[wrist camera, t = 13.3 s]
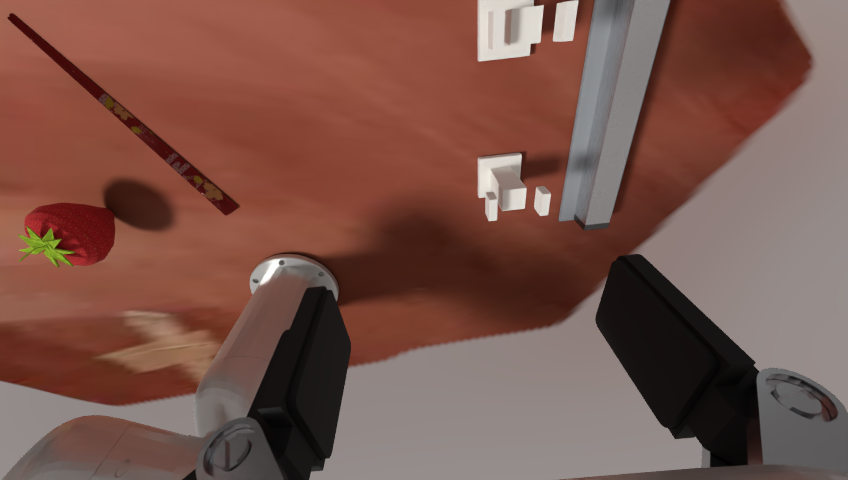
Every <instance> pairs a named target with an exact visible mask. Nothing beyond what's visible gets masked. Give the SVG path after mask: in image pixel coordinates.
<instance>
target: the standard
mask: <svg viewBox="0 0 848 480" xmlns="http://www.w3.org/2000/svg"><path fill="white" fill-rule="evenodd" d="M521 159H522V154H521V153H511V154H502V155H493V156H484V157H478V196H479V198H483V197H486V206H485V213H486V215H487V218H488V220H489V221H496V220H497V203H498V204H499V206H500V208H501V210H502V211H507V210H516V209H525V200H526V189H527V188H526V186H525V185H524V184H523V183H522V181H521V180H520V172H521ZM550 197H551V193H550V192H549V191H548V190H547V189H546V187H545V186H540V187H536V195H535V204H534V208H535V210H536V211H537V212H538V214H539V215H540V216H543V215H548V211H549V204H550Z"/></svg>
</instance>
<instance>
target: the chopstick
mask: <svg viewBox="0 0 848 480" xmlns="http://www.w3.org/2000/svg"><path fill="white" fill-rule="evenodd" d="M8 19H9V20H10V21H11V22H12V23H13V24H14V25H15V26H16V27H17V28H18V29H20V30H21V31H22V32H23V33H24V34H25V35H26V36H27V37H28V38H30V39H31V40H32V41H33V42H34V43H35V44H36V45H37V46H38V47H40V48H41V49H42V50H43V51H44V52H45V53H46V54H47V55H48V56H49V57H51V58H52V59H53V60H54V61H55V62H56V63H57V64H58V65H59V66H61V67H62V68H63V69H64V70H65V71H66V72H67V73H68V74H69V75H71V76H72V77H73V78H74V79H75V80H76V81H77V82H78V83H79V84H80V85H82V86H83V87H84V88H85V89H86V90H87V91H88V92H89V93H90V94H92V95H93V96H94V97H95V98H96V99H97V100H98V101H99V102H100V103H102V104H103V105H104V106H105V107H106V108H107V109H108V110H109V111H110V112H112V113H113V114H114V115H115V116H116V117H117V118H118V119H119V120H120V121H121V122H123V123H124V124H125V125H126V126H127V127H128V128H129V129H130V130H131V131H133V132H134V133H135V134H136V135H137V136H138V137H139V138H140V139H141V140H143V141H144V142H145V143H146V144H147V145H148V146H149V147H150V148H151V149H152V150H154V151H155V152H156V153H157V154H158V155H159V156H160V157H161V158H162V159H164V160H165V161H166V162H167V163H168V164H169V165H170V166H171V167H172V168H174V169H175V170H176V171H177V172H178V173H179V174H180V175H181V176H182V177H184V178H185V179H186V180H187V181H188V182H189V183H190V184H191V185H192V186H193V187H195V188H196V189H197V190H198V191H199V192H200V193H201V194H202V195H203V196H205V197H206V198H207V199H208V200H209V201H210V202H211V203H212V204H213V205H215V206H216V207H217V208H218V209H219V210H220V211H221V212H222V213H223V214H224V215H228V214H229V213H231V212H232V211H233V210H235V209H236V208H237V205H236V204H235V203H233V202H232V201H231V200H230V199H229V198H228V197H226V196H225V195H224V194H223V193H222V192H221V191H219V190H218V189H217V188H216V187H215V186H214V185H212V184H211V183H210V182H209V181H208V180H207V179H205V178H204V177H203V176H202V175H201V174H200V173H198V172H197V171H196V170H195V169H194V168H193V167H191V166H190V165H189V164H188V163H187V162H186V161H184V160H183V159H182V158H181V157H180V156H179V155H177V154H176V153H175V152H174V151H173V150H172V149H170V148H169V147H168V146H167V145H166V144H165V143H163V142H162V141H161V140H160V139H159V138H158V137H156V136H155V135H154V134H153V133H152V132H151V131H149V130H148V129H147V128H146V127H145V126H144V125H142V124H141V123H140V122H139V121H138V120H137V119H135V118H134V117H133V116H132V115H131V114H129V113H128V112H127V111H126V110H125V109H124V108H122V107H121V106H120V105H119V104H118V103H117V102H115V101H114V100H113V99H112V98H111V97H110V96H108V95H107V94H106V93H105V92H104V91H103V90H101V89H100V88H99V87H98V86H97V85H96V84H94V83H93V82H92V81H91V80H90V79H89V78H87V77H86V76H85V75H84V74H83V73H82V72H80V71H79V70H78V69H77V68H76V67H75V66H73V65H72V64H71V63H70V62H69V61H68V60H66V59H65V58H64V57H63V56H62V55H61V54H59V53H58V52H57V51H56V50H55V49H54V48H52V47H51V46H50V45H49V44H48V43H47V42H45V41H44V40H43V39H42V38H41V37H40V36H38V35H37V34H36V33H35V32H34V31H33V30H31V29H30V28H29V27H28V26H27V25H25V24H24V23H23V22H22V21H21V20H20V19H18V18H17V17H16V16H15V15H14V14H10V17H8Z"/></svg>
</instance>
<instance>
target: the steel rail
mask: <svg viewBox="0 0 848 480" xmlns="http://www.w3.org/2000/svg"><path fill="white" fill-rule="evenodd" d="M669 1H670V0H616V4H615V10H614V15H613V20H612V25H611V30H610V35H609V40H608V45H607V50H606V55H605V61H604V66H603V71H602V76H601V81H600V86H599V91H598V96H597V101H596V107H595V112H594V117H593V122H592V127H591V132H590V137H589V142H588V147H587V152H586V158H585V163H584V168H583V173H582V178H581V183H580V188H579V193H578V198H577V204H576V209H575V214H574V220H575V221H576V222H577V223H578V224H579V225H580V227H581V228H582V229H583V230H593V229H603V228H608V225H609V222H610V218H611V214H612V211H613V207H614V203H615V200H616V196H617V192H618V189H619V185H620V181H621V178H622V174H623V170H624V167H625V163H626V159H627V156H628V152H629V148H630V145H631V141H632V137H633V134H634V130H635V126H636V123H637V119H638V115H639V112H640V108H641V104H642V100H643V97H644V93H645V89H646V86H647V82H648V78H649V75H650V71H651V67H652V64H653V60H654V56H655V53H656V49H657V45H658V42H659V38H660V34H661V31H662V27H663V23H664V20H665V16H666V12H667V9H668V5H669Z"/></svg>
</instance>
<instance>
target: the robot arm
mask: <svg viewBox="0 0 848 480" xmlns="http://www.w3.org/2000/svg"><path fill="white" fill-rule="evenodd" d="M250 289H251V292H252V294H253V295H252V297H251V299H250V300H249V302H248V304H247V305H246V307H245V308H244V310H243V312H242V313H241V315H240V317H239V318H238V320H237V322H236V323H235V325H234V327H233V328H232V330H231V332H230V333H229V335H228V337H227V338H226V340H225V342H224V343H223V345H222V347H221V348H220V350H219V352H218V353H217V355H216V356H215V358H214V360H213V361H212V363H211V365H210V366H209V368H208V370H207V371H206V373H205V375H204V376H203V378H202V380H201V382H200V384H199V386H198V389H197V392H196V396H195V401H194V419H195V426H196V433H197V437H195V436H191V435H189V436H186V435H182V434H179V433H175V432H171V431H167V430H163V429H159V428H155V427H151V426H148V425H144V424H140V423H136V422H131V421H128V420H124V419H120V418H114V417H109V416H99V415H98V416H97V415H96V416H95V415H92V416H83V417H79V418H75V419H73V420H70V421H68V422H65V423H63V424H62V425H60V426H58V427H56V428H55V429H53V430H52V431H51V432H49V433H48V434H47V435H45V436H44V437H43V438H41V439H40V440H39V441H38V442H37V443H36V444H35V445H34V446H33V447H32V448H31V449H30V450H28V451H27V453H25V455H23V457H21V458H20V459H19V461H18V462H17V463H16V464H15V465H14V466H13V467H12V468H11V469H10V471H9V472H8V473H7V474H6V475H5V476H4V477H3V478H2V479H1V480H309V478H310V473H311V471H321V470H323V467H324V462H325V459H326V458H330V456H331V453H332V449H333V444H334V439H335V433H336V428H337V422H338V417H339V412H340V406H341V400H342V395H343V390H344V385H345V379H346V374H347V369H348V363H349V358H350V352H351V342H350V339H349V336H348V333H347V330H346V328H345V325H344V322H343V319H342V316H341V313H340V311H339V308H338V305H337V299H338V295H339V287H338V284H337V281H336V279H335V277H334V276H333V274H332V273H331V272H330V271H329V270H328V269H327V268H326V267H325V266H323V265H322V264H321V263H319V262H317V261H315V260H313V259H310V258H308V257H305V256H301V255H295V254H279V255H275V256H271V257H269V258H267V259H265V260H263V261H262V262H260V263H259V264H258V265H257V267H256V268H255V269H254V271H253V273H252V274H251V277H250ZM596 324H597V327H598V328H599V330H600V332H601V333H602V334H603V336H604V338H605V339H606V341H607V342H608V344H609V345H610V347H611V348H612V350H613V352H614V353H615V355H616V356H617V358H618V359H619V361H620V362H621V364H622V365H623V367H624V369H625V370H626V372H627V373H628V375H629V376H630V378H631V379H632V381H633V382H634V384H635V386H636V387H637V389H638V390H639V392H640V393H641V395H642V396H643V398H644V399H645V401H646V403H647V404H648V405H649V407H650V409H651V410H652V412H653V413H654V415H655V416H656V418H657V419H658V421H659V422H660V424H661V425H662V426H664V427H666V428H668V429H669V430H670V432H671V433H672V435H673V436H674V438H675V439H681V438H692V437H695V436H696V437H697V439H698V440H699V442H700V443H701V444H702V446H703V447H702V465H701V468H694V469H681V470H669V471H656V472H645V473H633V474H620V475H608V476H597V477H596V476H595V477H584V478H573V479H562V480H848V413H847V411H846V409H845V407H844V405H843V404H842V403H841V402H840V401H839V400H838V399H837V398H836V397H835V395H833V394H832V393H831V392H829V391H828V390H827V389H826V388H824V387H823V386H821V385H820V384H818V383H816V382H815V381H813V380H811V379H809V378H807V377H805V376H803V375H800V374H798V373H796V372H792V371H788V370H785V369H778V368H768V369H763V370H762V371H761V372H759V371H758V370H757V369H756V368H755V367H754V366H753V365H754V364H755V361H754V360H752V359H751V358H750V357H749V356H748V355H747V354H746V353H745V352H744V351H743V350H742V349H741V348H740V347H739V346H738V345H737V344H735V343H734V342H733V341H732V340H731V339H730V338H729V337H728V336H727V335H726V334H725V333H724V332H723V331H722V330H721V329H719V327H718V326H716V325H715V324H714V323H713V322H712V321H711V320H710V319H709V318H708V317H707V316H706V315H705V314H704V313H703V312H702V311H700V310H699V309H698V308H697V307H696V306H695V305H694V304H693V303H692V302H691V301H690V300H689V299H688V298H687V297H686V296H685V295H684V294H682V293H681V292H680V291H679V290H678V289H677V288H676V287H675V286H674V285H673V284H672V283H671V282H670V281H669V280H667V278H665V277H664V276H663V275H662V274H661V273H660V272H659V271H658V270H657V269H656V268H655V267H654V266H653V265H652V264H650V262H648V261H647V260H646V259H645V258H644V257H643V256H642V255H640V254H634V255H624V256H619V257H618V258H617V260H616V261H614V262H612V265H611V268H610V271H609V274H608V278H607V281H606V284H605V288H604V291H603V294H602V297H601V301H600V304H599V308H598V311H597V314H596Z"/></svg>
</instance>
